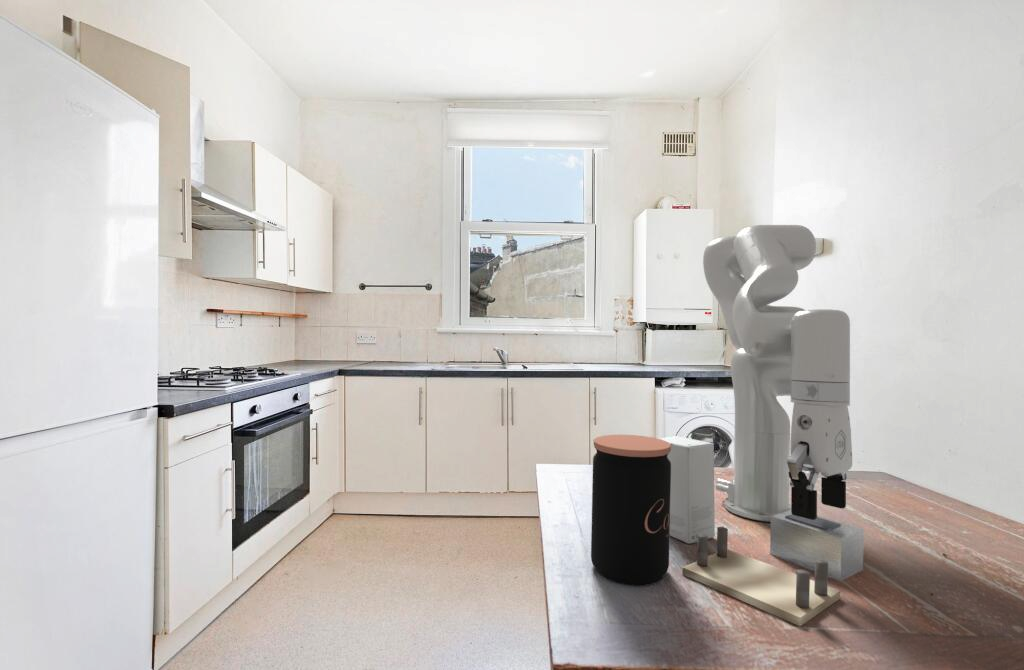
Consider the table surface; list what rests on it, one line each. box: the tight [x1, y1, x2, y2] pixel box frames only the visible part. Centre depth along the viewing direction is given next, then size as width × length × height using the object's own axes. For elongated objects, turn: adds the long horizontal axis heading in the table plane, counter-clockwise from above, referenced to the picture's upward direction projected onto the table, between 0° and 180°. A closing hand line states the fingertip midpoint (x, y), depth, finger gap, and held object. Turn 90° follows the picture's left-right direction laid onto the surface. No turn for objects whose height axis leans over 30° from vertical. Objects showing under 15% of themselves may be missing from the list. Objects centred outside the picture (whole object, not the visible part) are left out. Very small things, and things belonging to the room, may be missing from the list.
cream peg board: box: [681, 526, 841, 627], centre depth 69 cm, size 16×11×5 cm
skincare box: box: [658, 435, 716, 544], centre depth 87 cm, size 8×7×16 cm
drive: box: [769, 510, 865, 582], centre depth 77 cm, size 10×6×6 cm, turn 33°
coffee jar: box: [590, 434, 671, 587], centre depth 73 cm, size 11×11×18 cm
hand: (819, 511), depth 76 cm, fingers open, 9 cm apart
